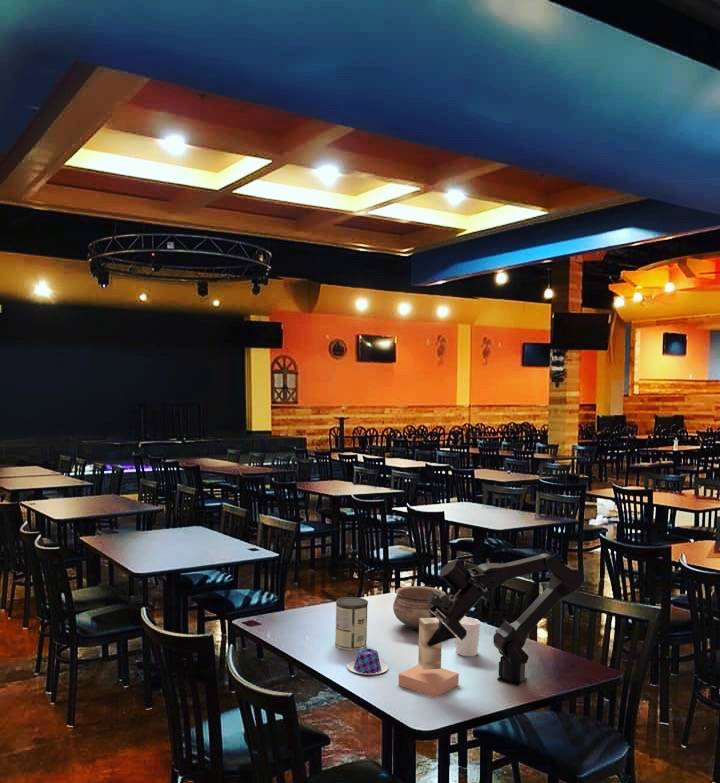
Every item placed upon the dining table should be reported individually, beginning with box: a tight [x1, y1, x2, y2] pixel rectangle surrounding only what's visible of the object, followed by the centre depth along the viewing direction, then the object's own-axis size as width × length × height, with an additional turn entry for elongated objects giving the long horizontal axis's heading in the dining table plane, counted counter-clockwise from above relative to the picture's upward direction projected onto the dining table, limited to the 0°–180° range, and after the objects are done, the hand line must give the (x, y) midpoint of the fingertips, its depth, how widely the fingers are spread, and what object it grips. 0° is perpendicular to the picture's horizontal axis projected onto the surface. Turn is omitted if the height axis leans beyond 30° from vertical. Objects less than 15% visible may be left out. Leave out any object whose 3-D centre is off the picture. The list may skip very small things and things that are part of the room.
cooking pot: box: [392, 585, 447, 631], centre depth 246 cm, size 25×19×12 cm
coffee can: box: [334, 596, 369, 652], centre depth 225 cm, size 10×10×14 cm
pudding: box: [346, 647, 389, 676], centre depth 205 cm, size 12×12×5 cm
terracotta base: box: [398, 664, 460, 698], centre depth 195 cm, size 12×12×3 cm
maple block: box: [417, 618, 443, 670], centre depth 195 cm, size 5×5×12 cm
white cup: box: [454, 616, 481, 657], centre depth 221 cm, size 8×8×10 cm
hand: (425, 642), depth 195 cm, fingers closed on maple block, 5 cm apart
